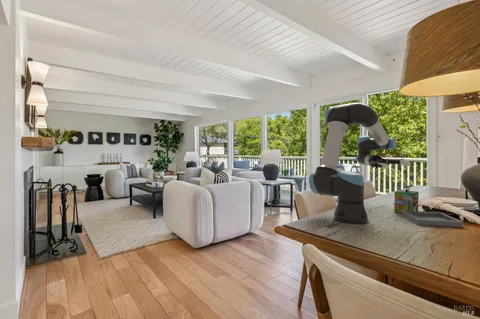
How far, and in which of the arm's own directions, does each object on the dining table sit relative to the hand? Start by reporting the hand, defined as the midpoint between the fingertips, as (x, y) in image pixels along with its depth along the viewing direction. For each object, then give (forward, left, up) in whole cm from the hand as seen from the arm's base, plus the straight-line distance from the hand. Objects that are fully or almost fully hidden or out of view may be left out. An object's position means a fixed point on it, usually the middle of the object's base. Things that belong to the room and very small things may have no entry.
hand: (397, 165), depth 139 cm
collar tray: (+7, -21, -26) cm, 34 cm away
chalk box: (+3, -4, -26) cm, 26 cm away
